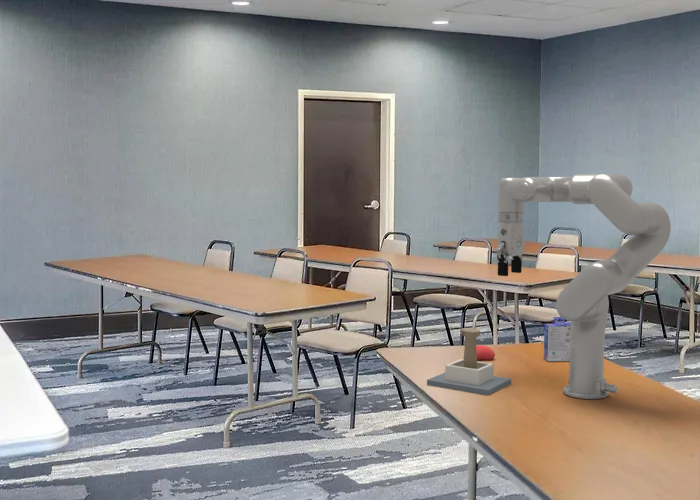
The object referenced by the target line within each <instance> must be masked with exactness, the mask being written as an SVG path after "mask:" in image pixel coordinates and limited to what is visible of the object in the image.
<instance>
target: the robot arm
mask: <svg viewBox="0 0 700 500" xmlns="http://www.w3.org/2000/svg"><path fill="white" fill-rule="evenodd" d="M631 181H632V180H630V179H629V178H628V177H627V176H626V175H624V174H620V173H588V174H587V173H586V174H585V173H584V174H582V173H581V174H577V173H576V174H573V175H572V176H526V177H503V178H501V179H499V182H498V216H497V218H498V219H497V223H498V224H499V225H498V233H497V247H496V249H495V251H496V259H497V260H496V261H497V276H499V277H508V276H509V262H508V261H509V258H510V256H511V258H512V259H511V261H510V263H511V264H510V265H511V266H510V267H511V269H510V273H515V274H521V273H522V269H523V268H522V261H523V254H524V253H525V231H524V228H525V227H524V215H525V213H524V207H525V203H529V204H530V203H550V202H551V203H552V202H553V203H554V202H555V203H557V202H558V203H559V202H560V203H561V202H564V203H566V202H567V203H572V204H574V205H593V206H594V207H596V209H597V210H598V211H599V212H600V213H601V214H602V215H603V216H604V217H605V218H606V219H607V220H608V221H609V222H610V223H611V224H612V225H613V226H614V227H615V228H616V229H618V231H619V232H622V233H623V234H626V235H629V236H631V238H629V239H628V240H627V241H625V242H624V243H622V245H621V246H620V247H619V248H618V249H617V250H616V251H615V252H614V253H613V254H612V255H611V256H610V257H608V258H606V259H603V260H597V261H593V262H590V263H589V264H587V265H586V266H585V267H584V268H582V269H581V271H579V272H578V273H577V274H576V276H574V277H573V279H571V280H570V282H569V283H568V284H567V285H566V286H564V288H563V289H562V290H561V291H560V293H559V294H558V296H557V299H556V301H555V303H556V304H555V308H556V311H557V313H558V315H559V317H562V318H563V319H564V320H565V321H568V322H570V323H572V324H571V331H570V358H569V361H568V362H569V363H568V364H569V365H568V366H569V369H568V384H567V385H565V386H564V387H563V388H562V393H563V394H565V395H566V396H569V397H570V398H571V397H573V398H575V399H586V400H597V399H598V400H600V399H605V398H607V397H608V396H609V393H613V394H617V393H618V391H619V390H618V389H619V387H618V386H617V385H616V384H611V383H608V382H607V378H604V366H605V363H604V362H605V342H606V341H605V340H606V326H607V325H606V324H607V318H608V313H609V309H610V308H609V307H610V301H609V296H610V295H614V294H617V293H621V292H622V291H624V290H625V289H626V288H627V287H628V286H629V285H630V284H631V283H632V282H633V281H634V280H635V279H636V278H637V277H638V276H639V275H640V274H641V273H642V272H643V271H644V270H645V269H646V268H647V267H648V265H650V263H651V262H652V261H653V260H655V259H656V258H657V256H659V255H660V253H661V252H662V251H663V250H664V249H665V247H666V245H667V243H668V241H669V238H670V235H671V229H672V225H671V218H670V216H669V213H668V212H667V211H666V209H665V208H664V207H663V206H662V205H661V204H658V203H656V202H652V201H649V202H648V201H643V202H642V201H641V202H637V201H636V200H634V199H633V198H632V197H631V196H632V194H633V183H632V182H631Z"/></svg>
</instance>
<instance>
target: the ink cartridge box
mask: <svg viewBox="0 0 700 500" xmlns="http://www.w3.org/2000/svg"><path fill="white" fill-rule="evenodd" d="M543 324H544V325H543V359H544V360H545V361H546V362H569V358H570V331H571V324H572V322H569V323H567V322H566V320H565V319H563V318H562V317H561V316H554V317H553V323H543Z"/></svg>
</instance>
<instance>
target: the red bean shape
mask: <svg viewBox="0 0 700 500" xmlns="http://www.w3.org/2000/svg"><path fill="white" fill-rule="evenodd" d="M476 352H477V361H481V360H483V361H491V360H493V359H494V358H495V356H496V353H495V351H494V350H493V349H492V348H491V347H489V346H487V345H482V344H481V345H479V344H478V345H476Z"/></svg>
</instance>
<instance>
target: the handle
mask: <svg viewBox="0 0 700 500" xmlns="http://www.w3.org/2000/svg"><path fill="white" fill-rule="evenodd" d="M460 332H461V333H460V334H461V335H462V336H463V337H464V349H463V350H464V352H463V359H464V367H465V368H472V369H476V368H477V362H478V360H477V352H476V346H477V338H478V337H480V336H481V330H480V329H477V328H473V327H464V328H461V329H460Z"/></svg>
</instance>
